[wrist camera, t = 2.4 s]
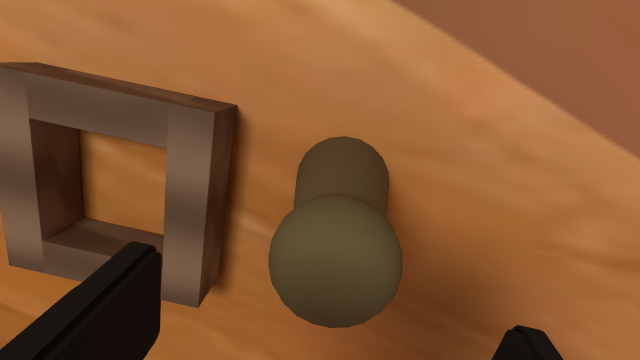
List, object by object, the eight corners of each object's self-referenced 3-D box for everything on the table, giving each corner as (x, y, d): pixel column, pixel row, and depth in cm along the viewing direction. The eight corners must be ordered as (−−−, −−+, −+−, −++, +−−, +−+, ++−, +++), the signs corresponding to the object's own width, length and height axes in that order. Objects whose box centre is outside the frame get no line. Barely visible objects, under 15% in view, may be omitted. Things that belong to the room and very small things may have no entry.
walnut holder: (218, 276, 25) (198, 308, 22) (53, 239, 26) (9, 265, 22) (236, 104, 21) (214, 112, 18) (37, 62, 21) (-21, 62, 18)
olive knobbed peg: (295, 220, 23) (249, 346, 13) (297, 133, 21) (243, 201, 11) (383, 226, 23) (409, 363, 12) (394, 139, 21) (434, 215, 10)
